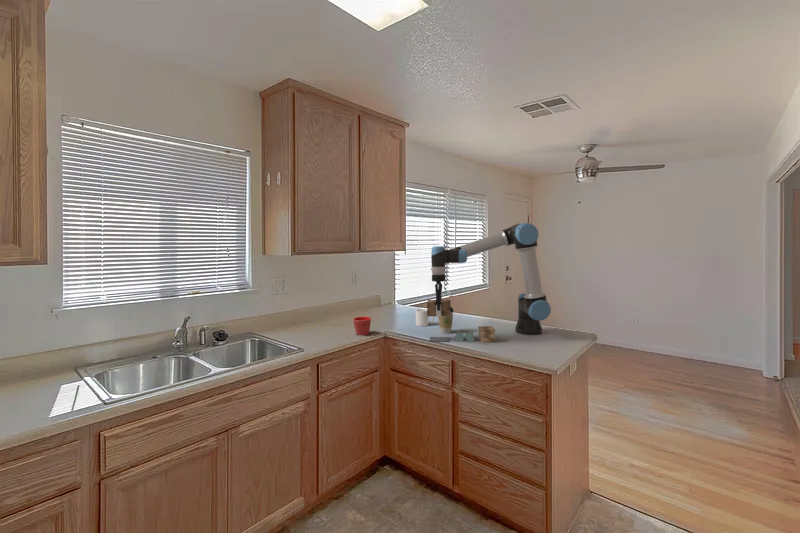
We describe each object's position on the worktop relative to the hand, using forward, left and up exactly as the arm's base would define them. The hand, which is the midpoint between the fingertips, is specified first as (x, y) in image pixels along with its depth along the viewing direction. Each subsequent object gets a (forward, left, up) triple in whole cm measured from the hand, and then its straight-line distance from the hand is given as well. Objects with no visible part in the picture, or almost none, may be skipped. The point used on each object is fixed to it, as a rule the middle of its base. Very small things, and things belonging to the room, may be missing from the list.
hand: (439, 314), depth 214 cm
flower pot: (+47, -10, -15) cm, 50 cm away
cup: (+11, -35, -15) cm, 39 cm away
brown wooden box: (0, 0, 0) cm, 0 cm away
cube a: (-17, 0, -14) cm, 22 cm away
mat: (0, 0, -14) cm, 14 cm away
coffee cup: (-3, -17, -15) cm, 23 cm away
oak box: (-26, 0, -14) cm, 30 cm away
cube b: (-11, 0, -14) cm, 18 cm away
